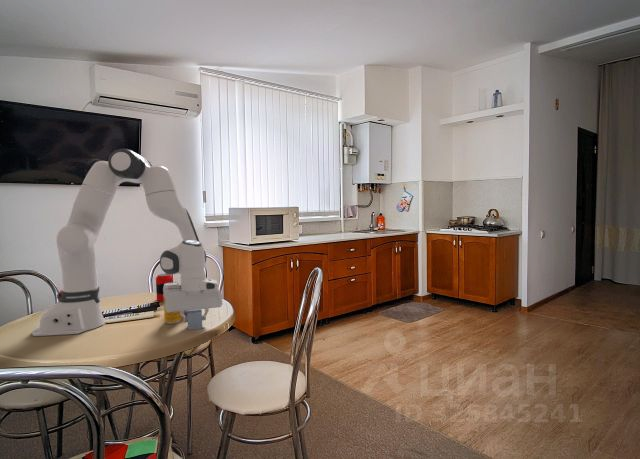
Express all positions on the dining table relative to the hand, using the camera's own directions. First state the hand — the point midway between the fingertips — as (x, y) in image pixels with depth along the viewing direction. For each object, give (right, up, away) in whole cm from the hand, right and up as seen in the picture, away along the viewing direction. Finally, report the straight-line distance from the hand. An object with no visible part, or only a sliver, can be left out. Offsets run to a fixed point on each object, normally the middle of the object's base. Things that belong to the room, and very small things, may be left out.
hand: (194, 321), depth 140 cm
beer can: (-10, -2, +6) cm, 12 cm away
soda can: (-27, 0, +39) cm, 48 cm away
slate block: (0, -2, 0) cm, 2 cm away
